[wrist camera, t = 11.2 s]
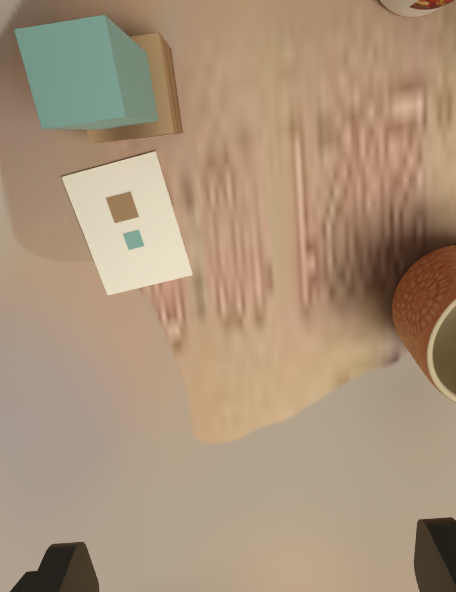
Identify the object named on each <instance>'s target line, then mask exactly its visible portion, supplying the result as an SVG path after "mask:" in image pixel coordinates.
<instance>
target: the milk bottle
mask: <svg viewBox="0 0 456 592" xmlns="http://www.w3.org/2000/svg"><path fill="white" fill-rule="evenodd" d="M452 1H454V0H380V2H381V3H382V4H383V5H384V6H385V7H386V8H387V9H389V10H390V11H391V12H393V13H395V14H398V15H400V16H404V17H420V16H424V15H427V14H430V13H432V12H434V11H436V10H438V9H440V8H442V7H444V6H445V5H447V4H449V3H450V2H452Z"/></svg>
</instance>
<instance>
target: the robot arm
mask: <svg viewBox="0 0 456 592" xmlns="http://www.w3.org/2000/svg"><path fill="white" fill-rule="evenodd" d="M414 569H415V575H416V580H417V584H418V587H419V590H420V592H456V520H454V519H453V518H451V517H449V518H435V519H420V520H418V522H417V532H416V543H415V555H414ZM10 592H99V583H98V579H97V577H96V573H95V571H94V568H93V565H92V562H91V559H90V556H89V553H88V550H87V547H86V545H85V544H84V542H75V543H61V544H52V545H51V546H50V547H49V548H48V549H47V551H46V553H45V555H44V557H43V559H42V562H41V564H40V566H39V568H38V571H31V572H26V573H25V574H24V575H23V577H22V578H21V579H20V580H19V581H18V583H17V584H16V585H15V586H14V587H13V589H12V590H11V591H10Z"/></svg>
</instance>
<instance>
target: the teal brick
mask: <svg viewBox="0 0 456 592" xmlns="http://www.w3.org/2000/svg"><path fill="white" fill-rule="evenodd" d="M14 30H15V34H16V38H17V41H18V45H19V49H20V52H21V56H22V59H23V63H24V67H25V70H26V74H27V77H28V81H29V85H30V88H31V92H32V96H33V99H34V103H35V106H36V110H37V114H38V117H39V121H40V124H41V128H42V129H87V130H101V129H108V128H114V127H121V126H128V125H135V124H142V123H149V122H156V121H159V120H158V115H157V109H156V104H155V98H154V92H153V87H152V81H151V76H150V70H149V64H148V59H147V53H146V51H145V50H143V49H142V48H141V47H140V46H139V45H138V44H137V43H136V42H135V41H133V40H132V39H131V38H130V37H129V36H128V35H127V34H126V33H125V32H123V31H122V30H121V29H120V28H119V27H118V26H117V25H116V24H115V23H113V22H112V21H111V20H110V19H109V18H108V17H107V16H106V15H100V16H94V17H88V18H82V19H75V20H69V21H63V22H57V23H51V24H44V25H38V26H32V27H26V28H20V29H14Z"/></svg>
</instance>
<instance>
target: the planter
mask: <svg viewBox="0 0 456 592" xmlns="http://www.w3.org/2000/svg"><path fill="white" fill-rule="evenodd" d="M392 316H393V322H394V325H395V328H396V331H397V333H398V335H399V337H400V339H401V341H402V343H403V344H404V345H405V347H406V348H407V349H408V351H409V352H410V354H411V355H412V357H413V358H414V360H415V361H416V363H417V364H418V365H419V367H420V368H421V370H422V371H423V373H424V374H425V375H426V376H427V378H428V379H429V381H430V382H431V383H432V384H433V385H434V386H435V387H436V388H437V389H438V390H439V391H440V392H441V393H442V394H443V395H444V396H446V397H447V398H449V399H450V400H452V401H453V402H455V403H456V245H452V246H447V247H443V248H440V249H438V250H435V251H433V252H431V253H429V254H427V255H425V256H424V257H422V258H421V259H419V260H418V261H417V262H415V263H414V264H413V265H412V266H411V267H410V268H409V269H408V270H407V272H406V273H405V274H404V275H403V277H402V278H401V280H400V282H399V284H398V286H397V288H396V291H395V294H394V297H393V303H392Z"/></svg>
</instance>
